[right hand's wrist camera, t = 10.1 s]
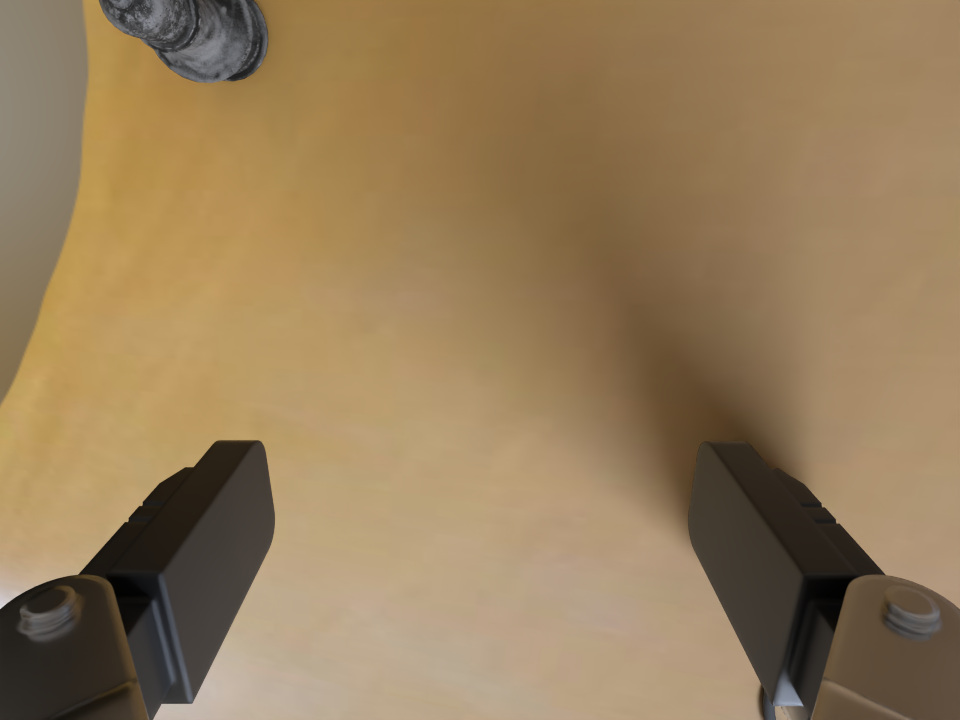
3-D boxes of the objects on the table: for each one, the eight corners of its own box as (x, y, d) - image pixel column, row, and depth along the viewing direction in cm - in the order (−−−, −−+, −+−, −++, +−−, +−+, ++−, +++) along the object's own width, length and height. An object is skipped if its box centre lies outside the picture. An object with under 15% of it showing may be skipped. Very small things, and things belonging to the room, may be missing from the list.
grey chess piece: (173, 76, 37) (40, 54, 26) (173, -35, 35) (28, -110, 24) (270, 95, 37) (180, 83, 26) (276, -13, 35) (181, -76, 24)
